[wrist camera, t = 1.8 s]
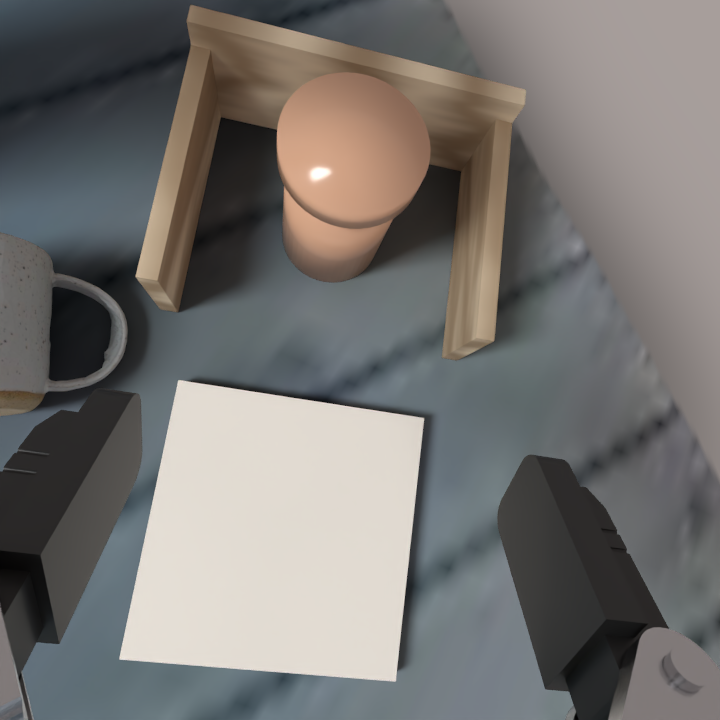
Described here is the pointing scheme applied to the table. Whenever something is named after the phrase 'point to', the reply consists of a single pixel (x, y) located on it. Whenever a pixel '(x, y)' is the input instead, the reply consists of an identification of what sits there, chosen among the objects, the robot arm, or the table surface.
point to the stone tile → (277, 536)
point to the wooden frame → (263, 108)
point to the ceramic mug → (40, 326)
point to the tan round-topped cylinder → (346, 170)
